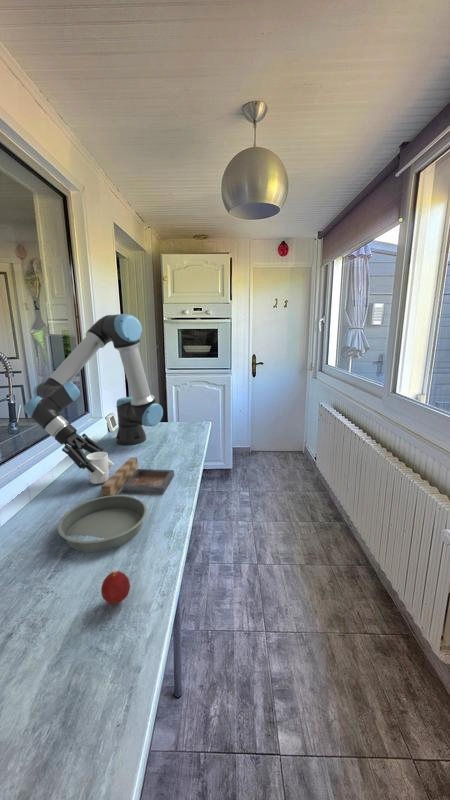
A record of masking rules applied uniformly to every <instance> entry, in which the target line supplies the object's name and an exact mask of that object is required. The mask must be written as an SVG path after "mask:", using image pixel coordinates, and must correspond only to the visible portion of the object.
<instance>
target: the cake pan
mask: <svg viewBox="0 0 450 800" xmlns="http://www.w3.org/2000/svg"><path fill="white" fill-rule="evenodd" d="M147 514H148V508H147V506H146V504H145V503H144V502H143V501H142V500H141V499H139V498H136V497H133V496H130V495H120V494H116V495H113V496H105V497H102V496H100V497H97V498H92V499H89V500H87V501H85V502H81V503H80V504H77V505H76V506H74V507H73V508H71V509H70V510H68V511H67V512H65V514H64V515H63V516H62V517H61V518H60V520H59V521H58V523H57V524H58V525H57V532H58V534H59V536H61V538H63V539H64V540H65V541H66V543H67V544H68V546H69V547H70V548H71V549H74V550H76V551H78V552H79V551H80V552H84V553H86V552H87V553H96V552H103V551H109V550H111V549H115V548H118V547H120V546H122V545H125V544H126V543H128V542H130V541H131V540H133V539H134V538H135V537H136V536H137V535H138V534H139V533H140V532H141V529H142V527H143V522H144V520H145V518H146V517H147ZM71 536H75V537H76V536H78V537H80V536H81V537H87V536H88V537H93V538H100V539H95V540H79V539H74V538H71Z"/></svg>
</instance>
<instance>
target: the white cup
mask: <svg viewBox="0 0 450 800" xmlns="http://www.w3.org/2000/svg"><path fill="white" fill-rule="evenodd" d="M108 454H109V453H108V452H106V451H103V452H94V453H88V454H87V455H85V456H86V458H87V459H88V461H89V462H92V463H94V464H95V465H96V466H97V467H98V468H99V469H100V470H101V471H102V472H104V473H105V474H104V475H103V476H102V477H101V478H100V479H99V478H98V477H97V476H95V475H94V474H93V473H92V472H90V471H89V470H88V469H87V474H88V476H89V482H90V483H91V484H96V485H97V484H104V483H105V482H106V481H107V480H108V479H109V478H110V477H109V476H110V475H109V474H110V473H109V472H110V471H109V470H110V469H109V468H108V467H109V466H108V459H109V455H108ZM89 464H90V463H89Z"/></svg>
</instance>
